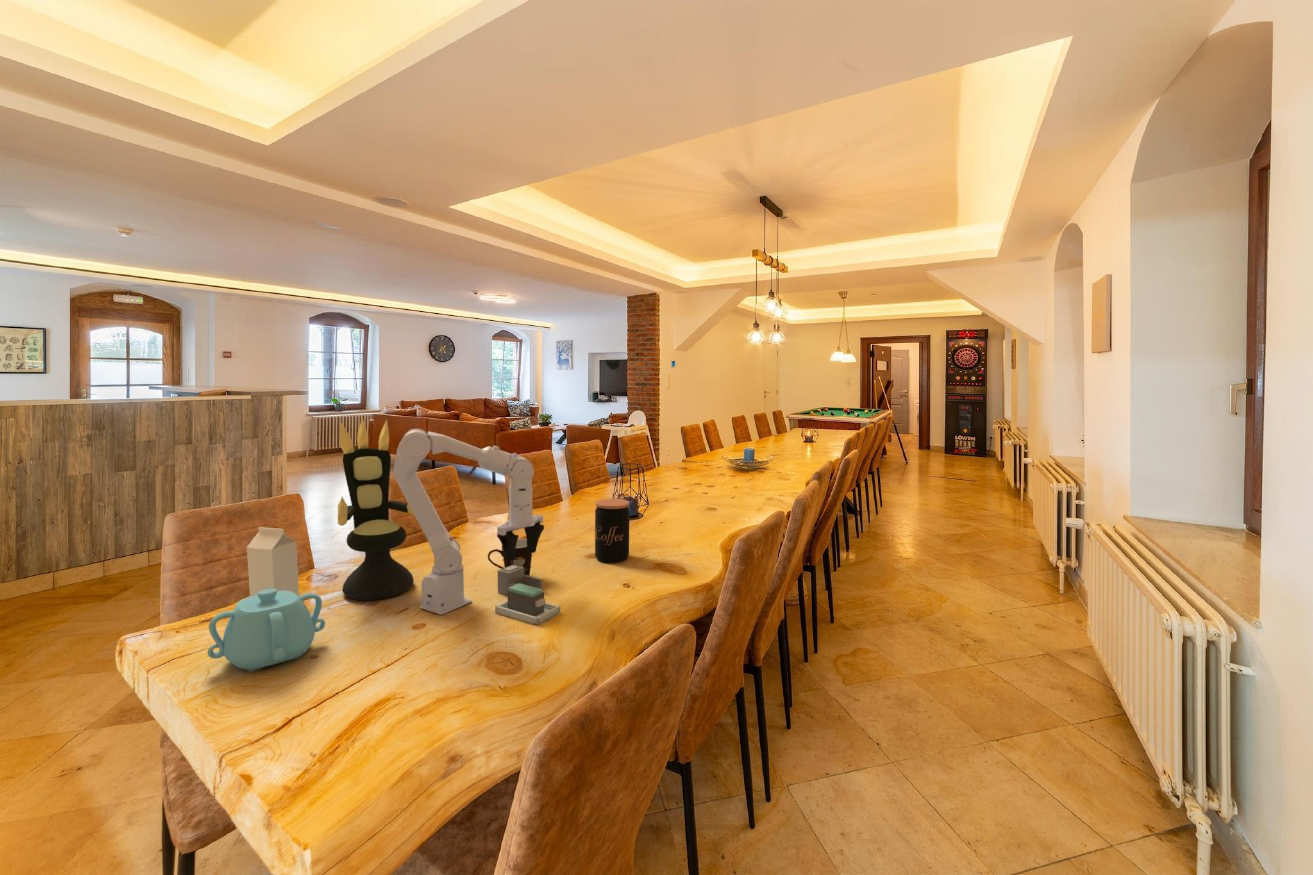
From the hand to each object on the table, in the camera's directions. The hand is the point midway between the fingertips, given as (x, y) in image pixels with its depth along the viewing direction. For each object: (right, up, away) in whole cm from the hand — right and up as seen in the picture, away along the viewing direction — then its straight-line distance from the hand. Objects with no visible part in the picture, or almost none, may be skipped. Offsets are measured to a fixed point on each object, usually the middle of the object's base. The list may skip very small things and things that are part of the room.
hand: (521, 555), depth 144 cm
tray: (+4, -12, -10) cm, 16 cm away
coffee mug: (-6, -9, +13) cm, 17 cm away
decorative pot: (-42, -14, -32) cm, 55 cm away
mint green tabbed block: (+3, -11, -10) cm, 15 cm away
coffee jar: (+21, -8, +32) cm, 39 cm away
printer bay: (-1, -10, +3) cm, 11 cm away
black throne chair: (-40, -10, +4) cm, 41 cm away
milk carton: (-59, -11, -7) cm, 60 cm away
